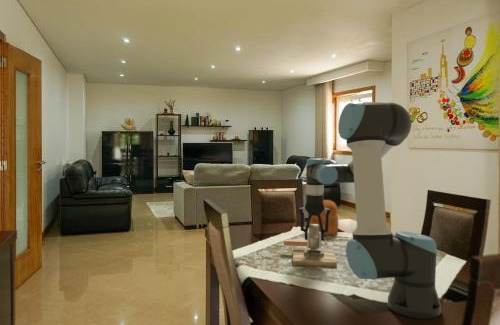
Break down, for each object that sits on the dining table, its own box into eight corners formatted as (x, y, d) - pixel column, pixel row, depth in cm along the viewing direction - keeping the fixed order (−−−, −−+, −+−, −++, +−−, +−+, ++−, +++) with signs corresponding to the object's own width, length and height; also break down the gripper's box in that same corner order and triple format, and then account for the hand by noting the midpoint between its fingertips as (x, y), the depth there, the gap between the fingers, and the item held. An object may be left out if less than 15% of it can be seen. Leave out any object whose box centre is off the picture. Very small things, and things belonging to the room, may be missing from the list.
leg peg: (318, 246, 168) (319, 224, 167) (319, 249, 164) (319, 226, 163) (308, 246, 169) (309, 223, 168) (308, 248, 164) (309, 226, 164)
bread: (338, 226, 232) (338, 198, 231) (337, 236, 207) (338, 205, 206) (312, 224, 236) (312, 197, 235) (308, 234, 211) (308, 204, 210)
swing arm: (317, 244, 176) (317, 238, 176) (318, 247, 172) (318, 241, 172) (283, 243, 177) (283, 237, 177) (283, 245, 173) (283, 240, 173)
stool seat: (336, 267, 156) (336, 258, 156) (292, 265, 159) (292, 256, 158) (333, 254, 174) (333, 246, 174) (293, 252, 176) (293, 244, 176)
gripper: (334, 193, 167) (333, 245, 169) (294, 192, 170) (294, 244, 171) (336, 195, 160) (335, 250, 161) (294, 194, 162) (293, 248, 164)
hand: (313, 247), depth 166 cm, fingers closed on leg peg, 4 cm apart
